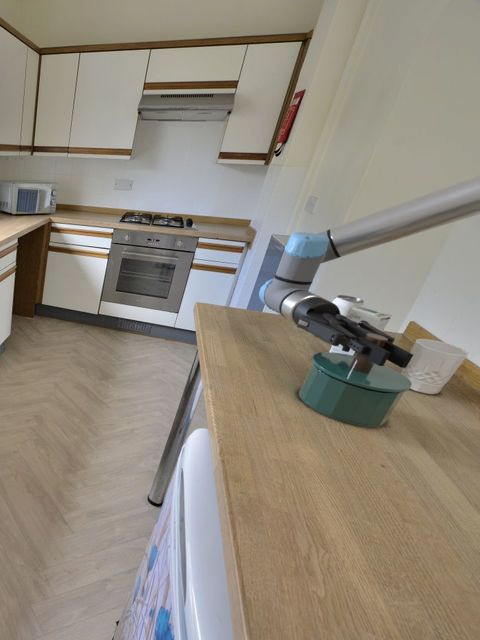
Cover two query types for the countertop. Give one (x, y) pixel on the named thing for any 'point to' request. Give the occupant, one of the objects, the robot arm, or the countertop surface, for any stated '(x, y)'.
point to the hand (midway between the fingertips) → (395, 360)
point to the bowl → (347, 399)
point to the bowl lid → (362, 369)
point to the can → (346, 303)
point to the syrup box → (365, 314)
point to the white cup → (432, 365)
